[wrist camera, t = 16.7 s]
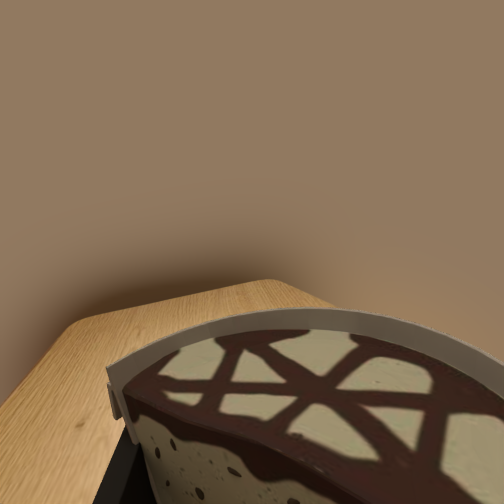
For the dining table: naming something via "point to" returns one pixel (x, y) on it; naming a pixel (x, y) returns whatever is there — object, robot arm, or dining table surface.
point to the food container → (314, 411)
